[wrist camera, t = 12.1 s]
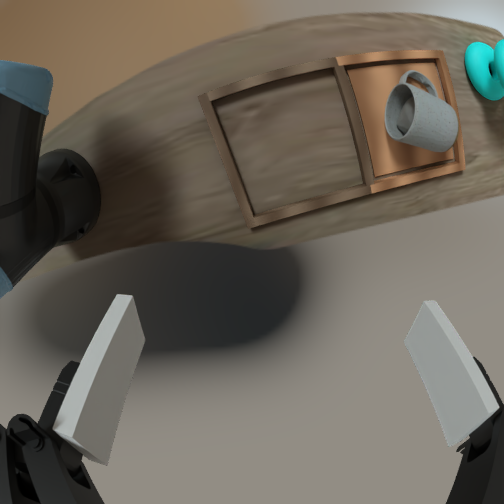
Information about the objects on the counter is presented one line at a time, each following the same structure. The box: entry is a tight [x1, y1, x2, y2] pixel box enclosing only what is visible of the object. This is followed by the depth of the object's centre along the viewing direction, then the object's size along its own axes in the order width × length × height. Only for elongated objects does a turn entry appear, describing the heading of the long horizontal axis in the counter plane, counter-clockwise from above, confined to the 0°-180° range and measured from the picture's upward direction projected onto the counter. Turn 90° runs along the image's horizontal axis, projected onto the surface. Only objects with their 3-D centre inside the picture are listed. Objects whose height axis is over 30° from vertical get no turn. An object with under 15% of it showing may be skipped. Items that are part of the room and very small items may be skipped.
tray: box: [198, 50, 465, 229], centre depth 30 cm, size 35×18×1 cm, turn 109°
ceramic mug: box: [385, 70, 459, 152], centre depth 25 cm, size 11×8×8 cm
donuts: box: [465, 39, 504, 100], centre depth 19 cm, size 10×10×10 cm
